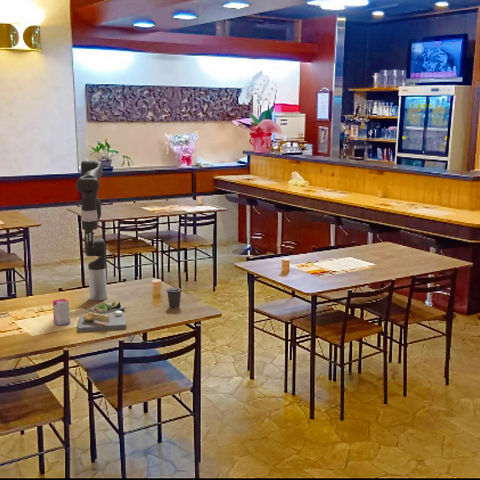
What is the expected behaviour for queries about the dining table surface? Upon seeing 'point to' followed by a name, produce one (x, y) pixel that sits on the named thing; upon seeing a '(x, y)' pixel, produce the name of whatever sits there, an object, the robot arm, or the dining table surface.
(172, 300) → the coffee cup
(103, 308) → the salad plate
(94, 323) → the base
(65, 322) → the supplement box
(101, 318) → the tan elongated block
